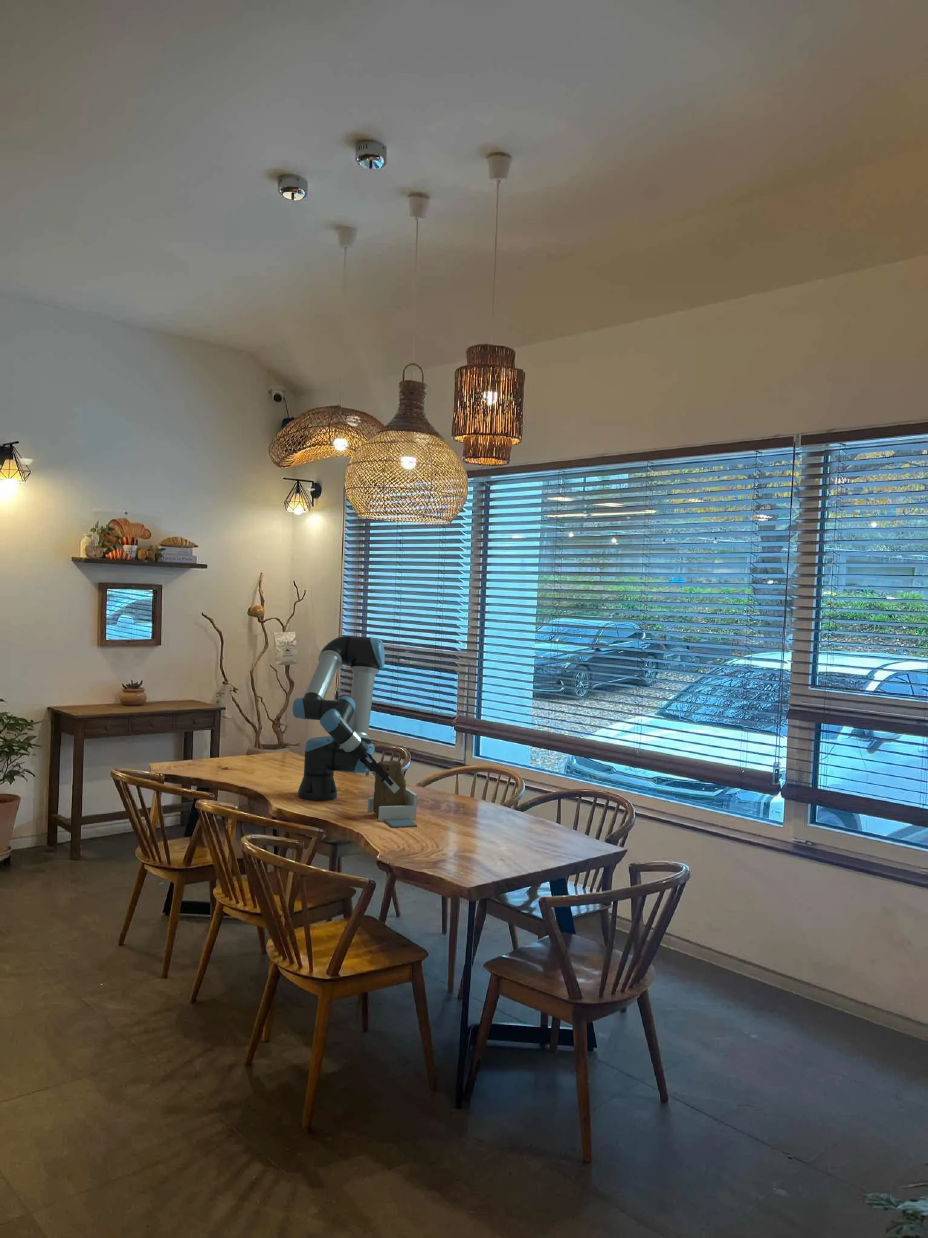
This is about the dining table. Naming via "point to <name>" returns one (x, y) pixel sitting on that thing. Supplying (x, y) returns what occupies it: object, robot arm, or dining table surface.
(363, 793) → the dining table surface
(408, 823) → the mat
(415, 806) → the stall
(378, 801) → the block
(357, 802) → the dining table surface
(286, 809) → the dining table surface
